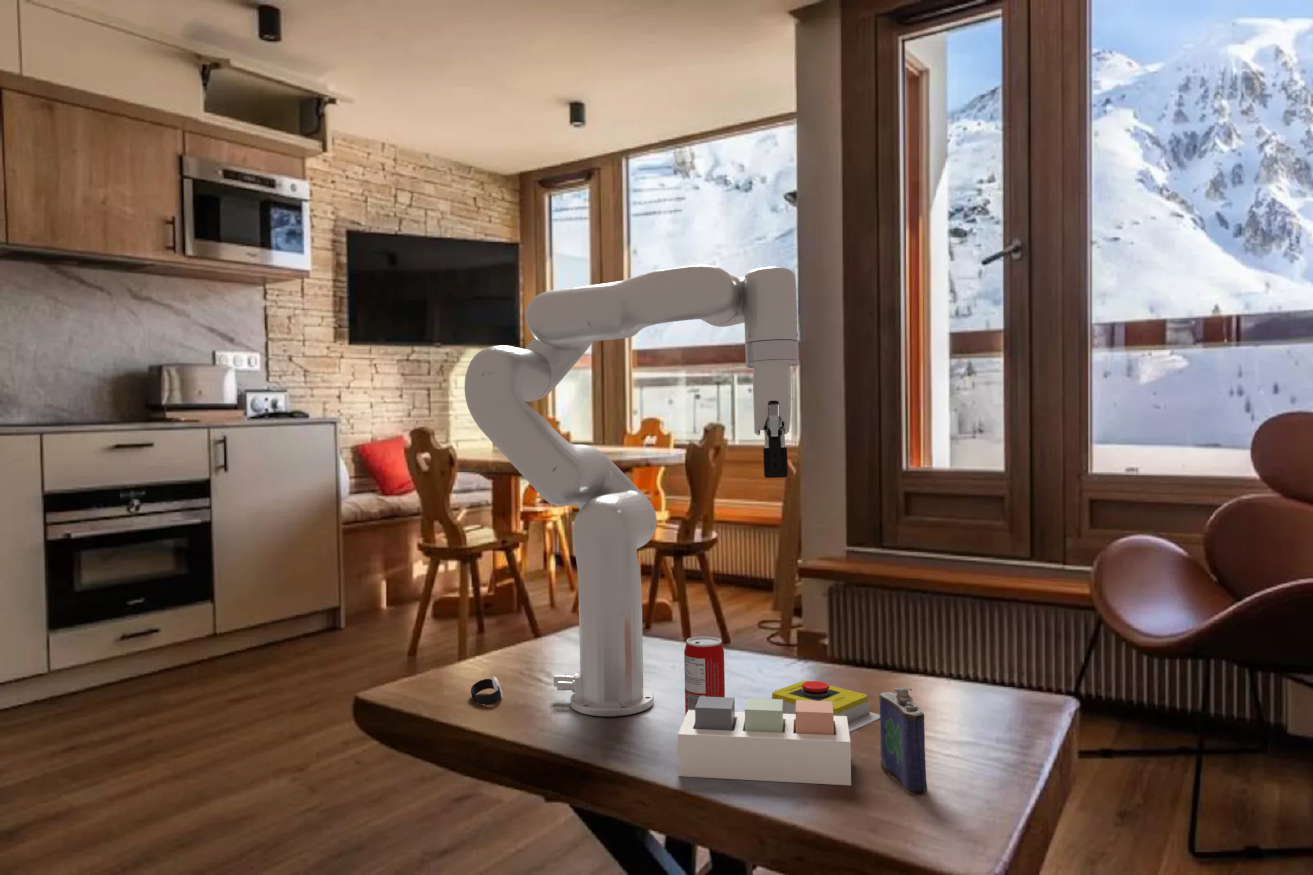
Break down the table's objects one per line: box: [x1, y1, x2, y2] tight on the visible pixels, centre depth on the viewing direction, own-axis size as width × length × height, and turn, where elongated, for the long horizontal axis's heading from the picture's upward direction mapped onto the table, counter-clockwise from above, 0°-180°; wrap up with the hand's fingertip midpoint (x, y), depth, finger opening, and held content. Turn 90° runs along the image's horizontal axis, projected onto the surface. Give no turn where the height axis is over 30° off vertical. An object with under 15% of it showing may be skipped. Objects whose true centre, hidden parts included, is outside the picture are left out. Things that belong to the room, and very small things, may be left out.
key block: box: [677, 710, 852, 786], centre depth 103 cm, size 20×9×5 cm, turn 80°
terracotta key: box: [796, 700, 834, 735], centre depth 102 cm, size 4×4×4 cm
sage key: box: [744, 697, 783, 733], centre depth 103 cm, size 4×4×4 cm
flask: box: [878, 687, 928, 796], centre depth 99 cm, size 9×3×11 cm, turn 8°
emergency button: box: [771, 680, 880, 733], centre depth 123 cm, size 9×4×15 cm
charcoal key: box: [695, 696, 736, 731], centre depth 104 cm, size 4×4×4 cm
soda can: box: [683, 636, 726, 716], centre depth 119 cm, size 6×6×12 cm
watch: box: [470, 676, 503, 706], centre depth 132 cm, size 8×5×4 cm, turn 26°
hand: (776, 475), depth 121 cm, fingers open, 9 cm apart
